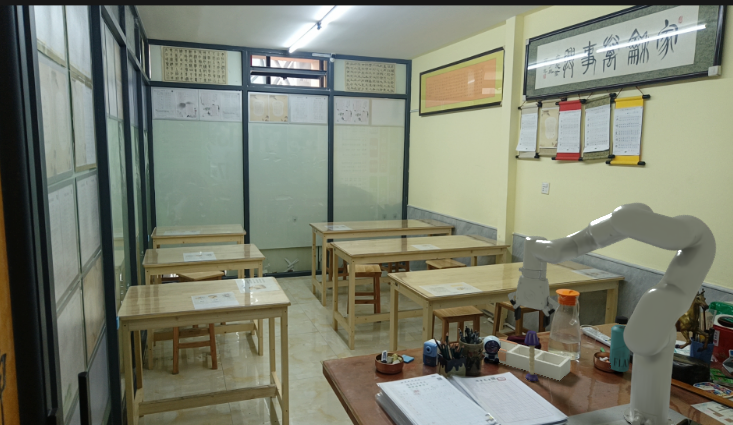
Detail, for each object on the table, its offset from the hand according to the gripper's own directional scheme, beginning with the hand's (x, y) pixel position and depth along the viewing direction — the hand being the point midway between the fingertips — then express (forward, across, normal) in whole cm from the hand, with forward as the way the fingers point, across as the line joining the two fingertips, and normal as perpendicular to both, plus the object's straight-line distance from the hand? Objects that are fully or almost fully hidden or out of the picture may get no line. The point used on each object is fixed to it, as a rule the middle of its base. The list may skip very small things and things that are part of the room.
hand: (531, 322), depth 161 cm
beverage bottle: (+20, +22, +26) cm, 39 cm away
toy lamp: (+20, +1, 0) cm, 20 cm away
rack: (+20, -5, +10) cm, 23 cm away
